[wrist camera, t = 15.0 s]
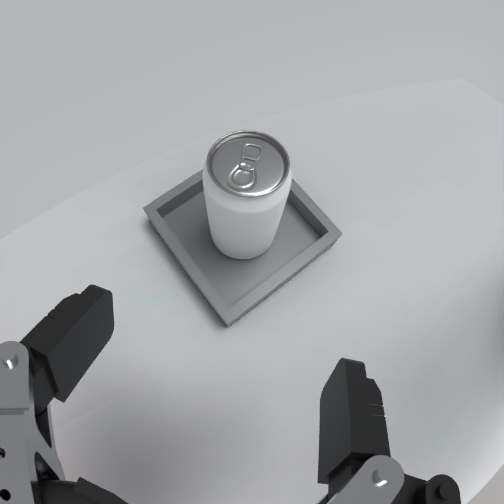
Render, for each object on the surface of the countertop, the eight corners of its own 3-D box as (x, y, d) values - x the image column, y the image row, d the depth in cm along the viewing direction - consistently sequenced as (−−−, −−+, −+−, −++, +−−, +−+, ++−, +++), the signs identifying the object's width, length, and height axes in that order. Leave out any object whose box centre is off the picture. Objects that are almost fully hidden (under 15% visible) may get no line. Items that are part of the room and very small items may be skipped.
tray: (252, 155, 36) (253, 139, 33) (333, 244, 33) (342, 233, 30) (149, 220, 32) (142, 208, 29) (227, 327, 29) (227, 324, 26)
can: (202, 251, 31) (185, 188, 19) (221, 195, 33) (217, 118, 21) (265, 268, 30) (285, 214, 19) (280, 211, 33) (303, 138, 21)
